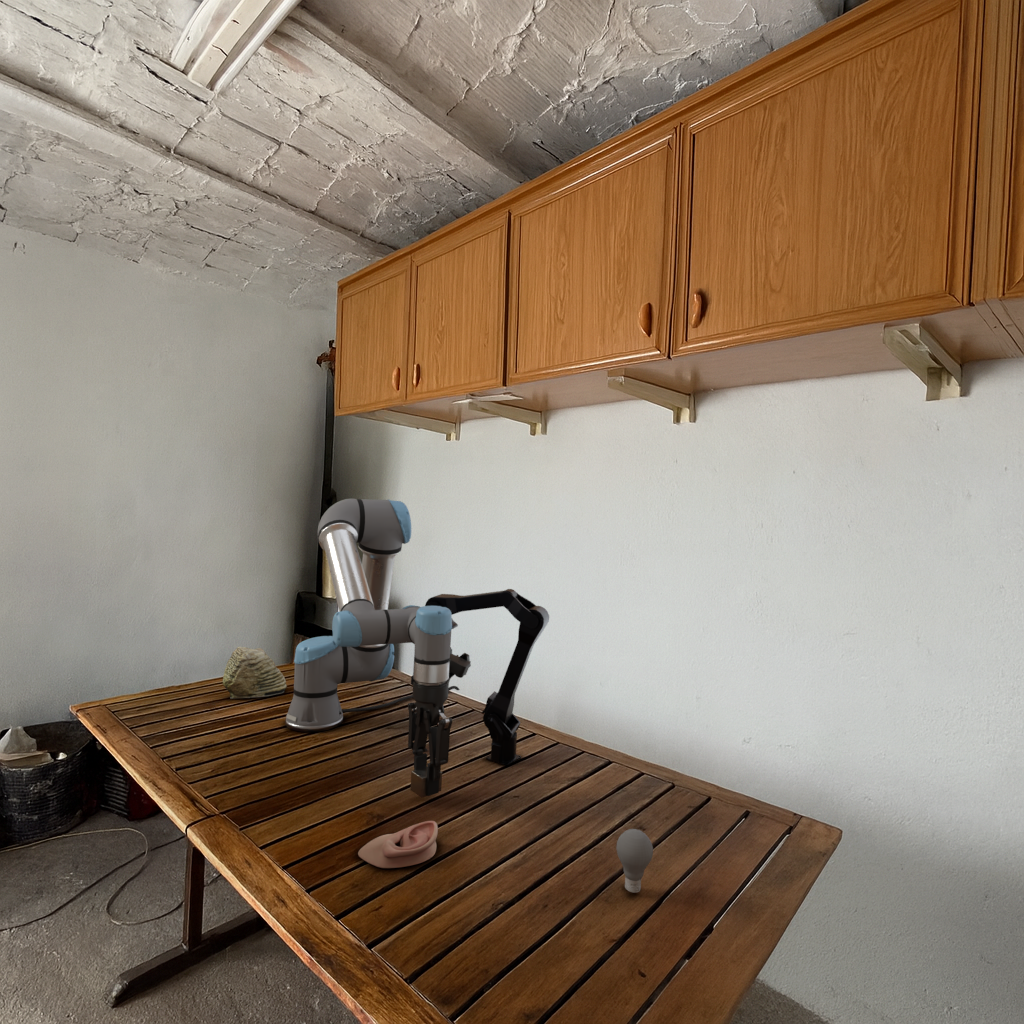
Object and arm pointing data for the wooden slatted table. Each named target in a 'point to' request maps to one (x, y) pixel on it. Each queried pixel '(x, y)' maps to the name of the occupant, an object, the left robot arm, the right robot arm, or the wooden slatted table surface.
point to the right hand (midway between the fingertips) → (435, 704)
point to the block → (421, 781)
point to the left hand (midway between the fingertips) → (425, 789)
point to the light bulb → (634, 857)
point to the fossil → (252, 674)
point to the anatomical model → (402, 846)
